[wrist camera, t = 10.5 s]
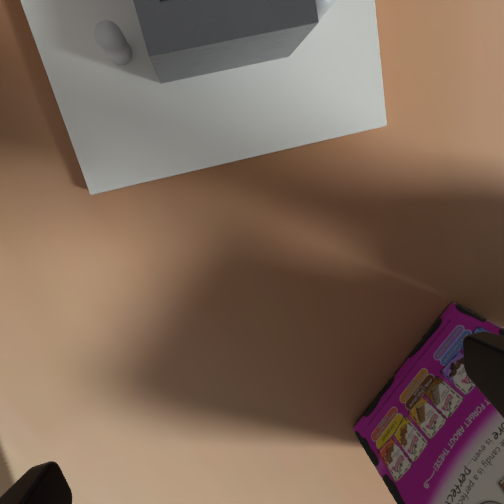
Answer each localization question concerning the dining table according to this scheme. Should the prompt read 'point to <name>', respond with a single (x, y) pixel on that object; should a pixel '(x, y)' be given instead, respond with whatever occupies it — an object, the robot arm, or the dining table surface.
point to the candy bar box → (437, 423)
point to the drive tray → (200, 92)
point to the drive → (221, 33)
